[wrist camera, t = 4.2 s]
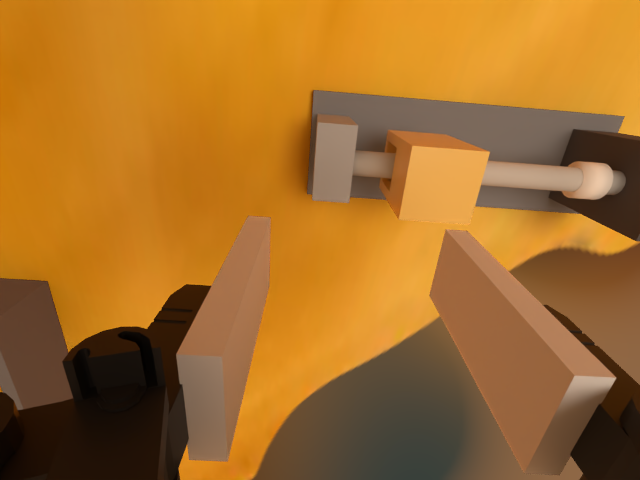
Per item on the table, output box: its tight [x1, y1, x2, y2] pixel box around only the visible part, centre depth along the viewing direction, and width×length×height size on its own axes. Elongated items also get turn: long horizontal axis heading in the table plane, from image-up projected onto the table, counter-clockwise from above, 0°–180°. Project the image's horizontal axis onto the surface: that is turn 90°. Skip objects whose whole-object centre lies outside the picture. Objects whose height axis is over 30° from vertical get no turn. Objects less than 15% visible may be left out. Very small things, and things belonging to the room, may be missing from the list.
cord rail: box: [307, 90, 640, 241], centre depth 30 cm, size 30×10×12 cm, turn 86°
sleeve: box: [379, 130, 490, 225], centre depth 26 cm, size 5×5×8 cm
